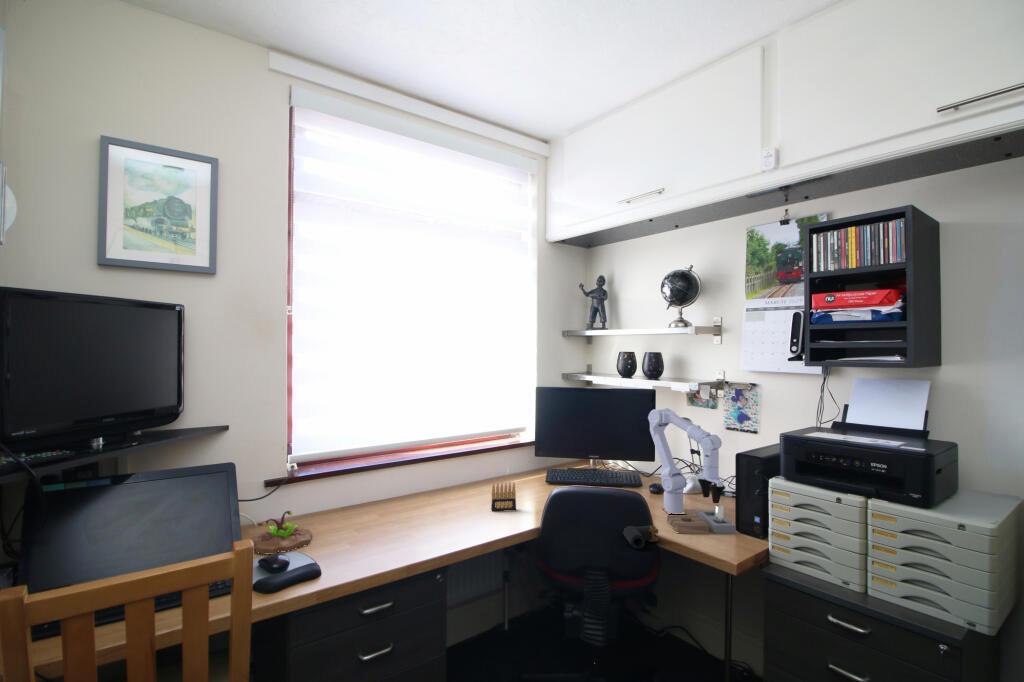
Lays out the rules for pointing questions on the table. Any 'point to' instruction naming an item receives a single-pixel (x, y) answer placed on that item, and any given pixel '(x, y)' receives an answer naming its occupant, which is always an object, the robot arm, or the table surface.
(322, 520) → the table surface
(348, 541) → the table surface
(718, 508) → the steel peg
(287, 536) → the plant
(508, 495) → the ammunition clip
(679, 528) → the socket block
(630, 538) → the pipe connector
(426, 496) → the table surface
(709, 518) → the tool rack
